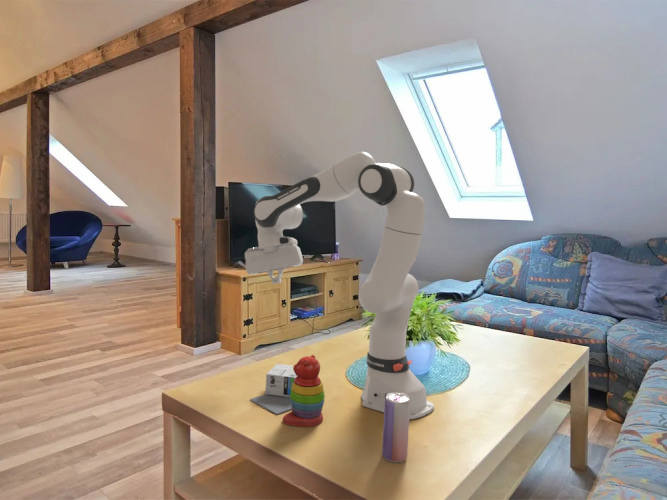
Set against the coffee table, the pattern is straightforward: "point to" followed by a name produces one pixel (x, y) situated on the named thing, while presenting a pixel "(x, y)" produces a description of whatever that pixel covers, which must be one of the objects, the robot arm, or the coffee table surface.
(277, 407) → the mat
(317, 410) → the stacking bear
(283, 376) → the light bulb box
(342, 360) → the coffee table surface
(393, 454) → the beverage can
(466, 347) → the coffee table surface
